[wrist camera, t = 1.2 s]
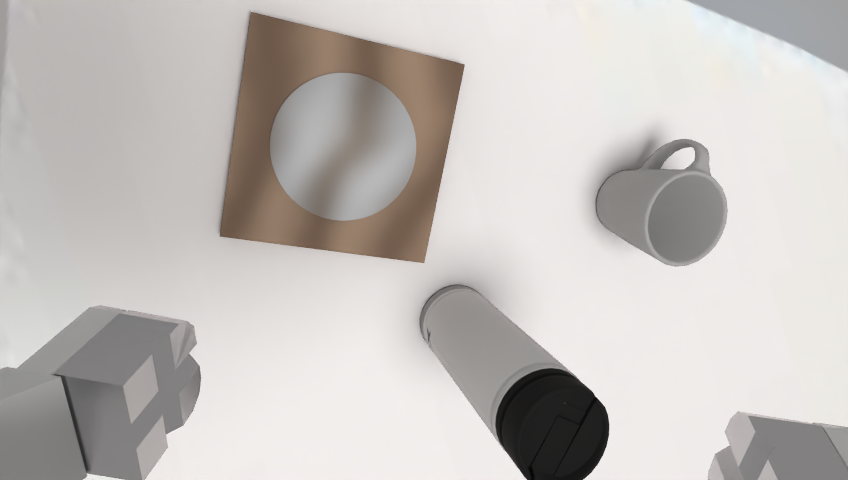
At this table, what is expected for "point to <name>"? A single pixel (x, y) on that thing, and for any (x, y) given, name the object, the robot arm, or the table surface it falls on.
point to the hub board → (338, 142)
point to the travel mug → (516, 387)
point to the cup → (666, 207)
